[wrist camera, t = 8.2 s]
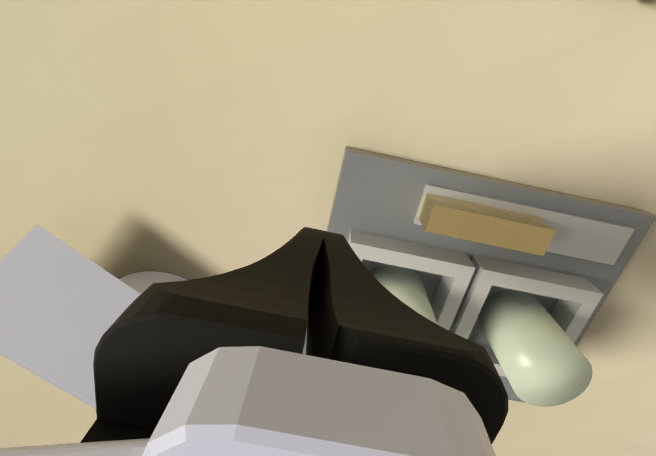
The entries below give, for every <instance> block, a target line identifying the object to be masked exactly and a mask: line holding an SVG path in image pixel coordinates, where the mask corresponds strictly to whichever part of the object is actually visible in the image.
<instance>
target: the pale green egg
mask: <svg viewBox="0 0 656 456" xmlns="http://www.w3.org/2000/svg"><path fill="white" fill-rule="evenodd" d="M478 322H479V325H480V327H481V329H482V331H483V333H484V334H485V336H486V338H487V340H488V342H489V344H490V346H491V348H492V350H493V352H494V354H495V356H496V358H497V360H498V361H499V363H500V365H501V367H502V369H503V371H504V373H505V375H506V377H507V379H508V381H509V383H510V385H511V386H512V388H513V390H514V392H515V394H516V395H517V396H518V397H519V398H520V399H521V400H522V401H524V402H526V403H528V404H531V405H535V406H543V407H546V406H555V405H560V404H563V403H566V402H568V401H570V400H572V399H574V398H576V397H577V396H579V395H580V394H581V393H582V392H583V391H584V390H585V389H586V388H587V386H588V385H589V383H590V381H591V378H592V367H591V364H590V363H589V361H588V360H587V359H586V357H585V356H584V355H583V354H582V352H581V351H580V350H579V349H578V348H577V346H576V345H575V344H574V343H573V342H572V340H571V339H570V338H569V337H568V336H567V334H566V333H565V332H564V331H563V329H562V328H561V327H560V326H559V325H558V323H557V322H556V321H555V320H554V319H553V317H552V316H551V315H550V314H549V313H548V311H547V310H546V309H545V308H544V306H543V305H542V304H541V303H540V302H539V300H538V299H537V298H536V297H535V296H534V295H533V294H532V293H528V292H523V291H518V290H513V289H506V290H502V291H499V292H497V293H495V294H493V295H491V296H490V297H489V298H487V299H486V300H485V302H484V304H483V306H482V308H481V311H480V313H479V315H478Z"/></svg>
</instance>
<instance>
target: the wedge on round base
mask: <svg viewBox="0 0 656 456" xmlns="http://www.w3.org/2000/svg"><path fill="white" fill-rule="evenodd" d="M185 280H187V279H185V278H182V277H179V276H177V275H173V274H169V273H165V272H156V271H145V272H137V273H133V274H129V275H126V276H124V277H122V278H120V279H117V278H116V277H114V276H113V275H112V274H110V273H109V272H107V271H106V270H104V269H103V268H101V267H100V266H98V265H97V264H95V263H94V262H92V261H91V260H89V259H88V258H86V257H85V256H83V255H82V254H80V253H79V252H77V251H76V250H74V249H73V248H72V247H70V246H69V245H67V244H66V243H64V242H63V241H61V240H60V239H58V238H57V237H55V236H54V235H52V234H51V233H49V232H48V231H46V230H45V229H43V228H42V227H40V226H39V225H37V226H36V227H35V228H34V229H33V230H32V231H31V232H29V233H28V234H27V235H26V236H25V237H24V238H23V239H22V240H21V241H20V242H19V243H18V244H17V245H16V246H15V247H14V248H13V249H12V250H11V251H10V252H9V253H8V254H7V255H6V256H5V257H4V258H3V259H2V260H1V261H0V355H2V356H4V357H6V358H7V359H9V360H11V361H13V362H14V363H16V364H18V365H20V366H21V367H23V368H25V369H27V370H28V371H30V372H32V373H34V374H35V375H37V376H39V377H41V378H42V379H44V380H46V381H48V382H49V383H51V384H53V385H55V386H56V387H58V388H60V389H62V390H63V391H65V392H67V393H69V394H71V395H72V396H74V397H76V398H78V399H79V400H81V401H83V402H85V403H86V404H88V405H90V406H92V407H93V408H95V409H96V399H95V385H94V371H93V361H94V352H95V348H96V346H97V344H98V343H99V341H100V339H101V337H102V335H103V334H104V333H105V332H106V331H107V330H108V329H109V327H110V326H111V325H112V324H113V323H114V322H115V321H116V320H117V318H118V317H119V316H120V315H121V314H122V313H123V312H124V311H125V310H126V308H127V307H128V306H129V305H130V304H131V303H132V302H133V301H134V300H135V299H136V298H137V297H138V296H139V295H140V294H142V293H143V292H144V291H145V290H146V289H147V288H148V287H149V286H151V285H152V284H153V283H162V282H174V281H185Z"/></svg>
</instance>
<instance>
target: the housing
mask: <svg viewBox="0 0 656 456" xmlns="http://www.w3.org/2000/svg"><path fill="white" fill-rule="evenodd" d="M426 193H430V194H434V195H439V196H444V197H449V198H453V199H458V200H463V201H467V202H472V203H477V204H482V205H486V206H491V207H496V208H501V209H505V210H510V211H515V212H519V213H524V214H529V215H534V216H538V217H540V218H541V219H542V220H543V221H545V222H546V223H547V224H549V225H550V226H551V227H552V228H554V229H555V230H556V232H555V234H554V236H553V238H552V240H551V242H550V244H549V246H548V248H547V250H546V252H545V254H544V256H541V255H536V254H531V253H527V252H522V251H517V250H512V249H507V248H503V247H498V246H493V245H488V244H483V243H478V242H474V241H469V240H464V239H459V238H454V237H449V236H445V235H440V234H435V233H430V232H425V230H424V228H423V226H422V224H421V222H420V220H419V218H418V217H419V214H420V211H421V208H422V205H423V202H424V199H425V196H426ZM654 218H655V216H653V215H651V214H649V213H647V212H645V211H643V210H640V209H635V208H630V207H626V206H621V205H616V204H612V203H607V202H602V201H598V200H593V199H588V198H584V197H579V196H574V195H570V194H565V193H560V192H556V191H551V190H546V189H542V188H537V187H532V186H528V185H523V184H519V183H514V182H509V181H505V180H500V179H495V178H491V177H486V176H481V175H477V174H472V173H467V172H463V171H458V170H453V169H449V168H444V167H439V166H435V165H430V164H425V163H421V162H416V161H412V160H407V159H402V158H398V157H393V156H388V155H384V154H379V153H374V152H370V151H365V150H360V149H356V148H351V147H346V148H345V153H344V157H343V162H342V166H341V171H340V175H339V180H338V184H337V189H336V193H335V198H334V202H333V207H332V211H331V215H330V220H329V224H328V229H327V232H332V233H337V234H342V235H343V236H344V237H345V239H346V240H347V242H348V243H349V245H350V246H351V248H352V249H353V251H354V252H355V254H356V255H357V256H358V258H359V259H360V260H361V262H362V263H363V264H364V266H365V267H366V268H367V269H368V270H369V271H370V272H371V274H372V275H373V276H374V277H375V278H376V279H377V280H378V281H379V282H380V283H381V284H382V285H383V286H384V287H385V288H386V289H388V290H389V291H390V292H391V293H392V294H393V295H394V296H396V297H397V298H398V299H399V300H401V301H402V302H403V303H405V304H406V305H408V306H409V307H410V308H412V309H413V310H415V311H416V312H417V313H419V314H421V315H422V316H424V317H425V318H427V319H429V320H430V321H432V322H434V323H436V324H438V325H439V326H441V327H443V328H445V329H447V330H448V331H450V332H453V333H455V334H457V335H459V336H461V337H464V338H466V339H468V340H470V341H472V342H474V343H477V344H479V345H481V346H483V347H485V349H486V351H487V352H488V354H489V356H490V358H491V360H492V362H493V364H494V366H495V368H496V370H497V372H498V374H499V376H500V378H501V380H502V382H503V385H504V387H505V390H506V392H507V395H508V400H514V401H519V402H524V401H522V400H521V399H520V398H519V397H518V396H517V395H516V394H515V392H514V390H513V388H512V386H511V385H510V383H509V381H508V379H507V377H506V375H505V373H504V371H503V369H502V367H501V365H500V363H499V361H498V360H497V358H496V356H495V354H494V352H493V350H492V348H491V346H490V344H489V342H488V340H487V338H486V336H485V334H484V333H483V331H482V329H481V327H480V325H479V322H478V315H479V313H480V311H481V308H482V306H483V304H484V302H485V300H486V299H487V298H489V297H490V296H491V295H493V294H495V293H497V292H499V291H502V290H506V289H513V290H518V291H523V292H528V293H532V294H533V295H534V296H535V297H536V298H537V299H538V300H539V302H540V303H541V304H542V305H543V306H544V308H545V309H546V310H547V311H548V313H549V314H550V315H551V316H552V317H553V319H554V320H555V321H556V322H557V323H558V325H559V326H560V327H561V328H562V329H563V331H564V332H565V333H566V334H567V336H568V337H569V338H570V339H571V340H572V342H573V343H574V344H575V345H576V346H577V344H578V342H579V341H580V339H581V337H582V336H583V334H584V333H585V331H586V329H587V328H588V326H589V324H590V323H591V321H592V319H593V318H594V316H595V315H596V313H597V311H598V310H599V308H600V306H601V305H602V303H603V301H604V300H605V298H606V297H607V295H608V293H609V292H610V290H611V288H612V287H613V285H614V283H615V282H616V280H617V279H618V277H619V275H620V274H621V272H622V270H623V269H624V267H625V265H626V264H627V262H628V261H629V259H630V257H631V256H632V254H633V252H634V251H635V249H636V247H637V246H638V244H639V243H640V241H641V239H642V238H643V236H644V234H645V233H646V231H647V229H648V228H649V226H650V225H651V223H652V221H653V220H654ZM306 338H307V331H306ZM306 338H305V344H304V348H303V353H302V354H304V355H306ZM524 403H526V402H524Z"/></svg>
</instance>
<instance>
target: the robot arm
mask: <svg viewBox="0 0 656 456" xmlns="http://www.w3.org/2000/svg"><path fill="white" fill-rule="evenodd" d="M306 331H307V338H306ZM305 338H306V355H304V354H302V353H303V348H304V344H305ZM93 371H94V385H95V399H96V413H97V420H96V421H95V422H94V424H93V425H92V427H91V428H90V430H89V431H88V432H87V434H86V435H85V437H84V438H83V440H82V441H81V442H80V443H72V444H57V445H42V446H27V447H12V448H0V456H496V455H495V453H494V450H493V447H492V443H493V441H494V439H495V438H496V436H497V434H498V432H499V431H500V429H501V427H502V425H503V423H504V421H505V418H506V415H507V413H508V395H507V392H506V390H505V387H504V385H503V382H502V380H501V378H500V376H499V374H498V372H497V370H496V368H495V366H494V364H493V362H492V360H491V358H490V356H489V354H488V352H487V351H486V349H485V347H483V346H481V345H479V344H477V343H474V342H472V341H470V340H468V339H466V338H464V337H461V336H459V335H457V334H455V333H453V332H450V331H448V330H447V329H445V328H443V327H441V326H439V325H438V324H436V323H434V322H432V321H430V320H429V319H427V318H425V317H424V316H422V315H421V314H419V313H417V312H416V311H415V310H413V309H412V308H410V307H409V306H408V305H406V304H405V303H403V302H402V301H401V300H399V299H398V298H397V297H396V296H394V295H393V294H392V293H391V292H390V291H389V290H388V289H386V288H385V287H384V286H383V285H382V284H381V283H380V282H379V281H378V280H377V279H376V278H375V277H374V276H373V275H372V274H371V272H370V271H369V270H368V269H367V268H366V267H365V266H364V264H363V263H362V262H361V260H360V259H359V258H358V256H357V255H356V254H355V252H354V251H353V249H352V248H351V246H350V245H349V243H348V242H347V240H346V239H345V237H344V236H343V235H342V234H337V233H332V232H327V231H322V230H317V229H312V228H307V227H304V228H303V229H301V230H300V231H299V232H298V233H297V234H296V235H295V236H294V237H293V238H292V239H291V240H290V241H288V242H287V243H286V244H284V245H283V246H282V247H281V248H279V249H278V250H276V251H275V252H273V253H272V254H270V255H268V256H267V257H265V258H263V259H262V260H260V261H257V262H255V263H253V264H251V265H248V266H246V267H243V268H239V269H236V270H233V271H230V272H227V273H224V274H220V275H215V276H211V277H205V278H200V279H193V280H185V281H174V282H162V283H153V284H152V285H151V286H149V287H148V288H147V289H146V290H145V291H144V292H143V293H142V294H140V295H139V296H138V297H137V298H136V299H135V300H134V301H133V302H132V303H131V304H130V305H129V306H128V307H127V308H126V310H125V311H124V312H123V313H122V314H121V315H120V316H119V317H118V318H117V320H116V321H115V322H114V323H113V324H112V325H111V326H110V327H109V329H108V330H107V331H106V332H105V333H104V334H103V335H102V337H101V339H100V341H99V343H98V344H97V346H96V348H95V352H94V361H93Z"/></svg>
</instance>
